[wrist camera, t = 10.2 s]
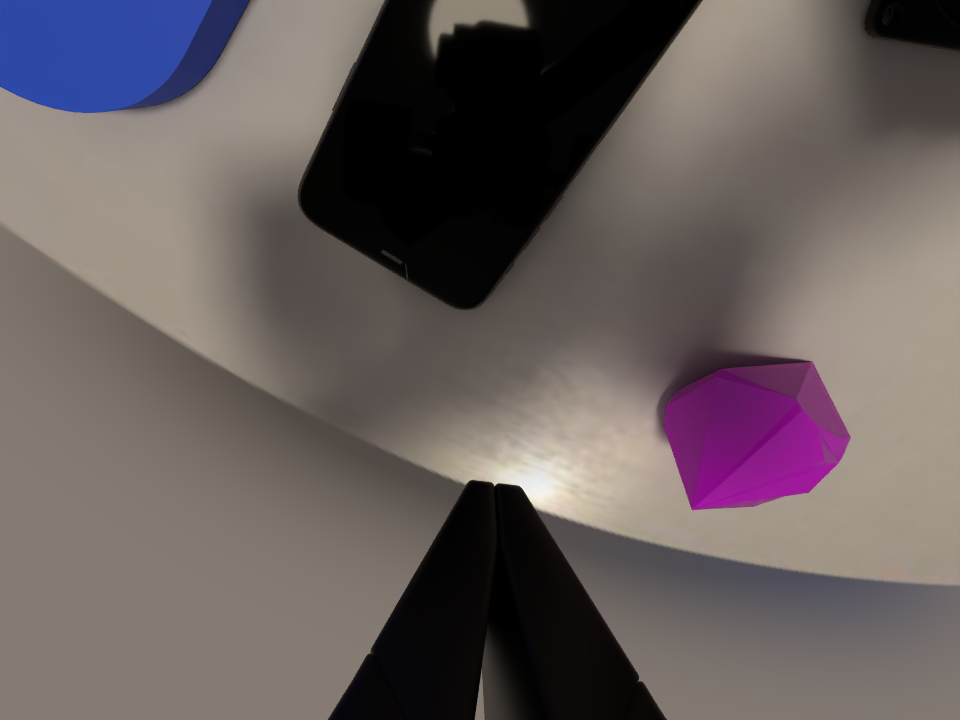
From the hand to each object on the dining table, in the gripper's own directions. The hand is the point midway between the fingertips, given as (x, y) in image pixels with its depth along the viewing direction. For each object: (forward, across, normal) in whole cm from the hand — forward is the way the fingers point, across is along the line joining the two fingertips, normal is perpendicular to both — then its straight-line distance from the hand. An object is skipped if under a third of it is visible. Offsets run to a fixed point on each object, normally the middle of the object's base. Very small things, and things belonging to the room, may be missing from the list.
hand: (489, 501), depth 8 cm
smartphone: (+12, 0, -6) cm, 14 cm away
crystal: (+12, -11, +4) cm, 17 cm away
